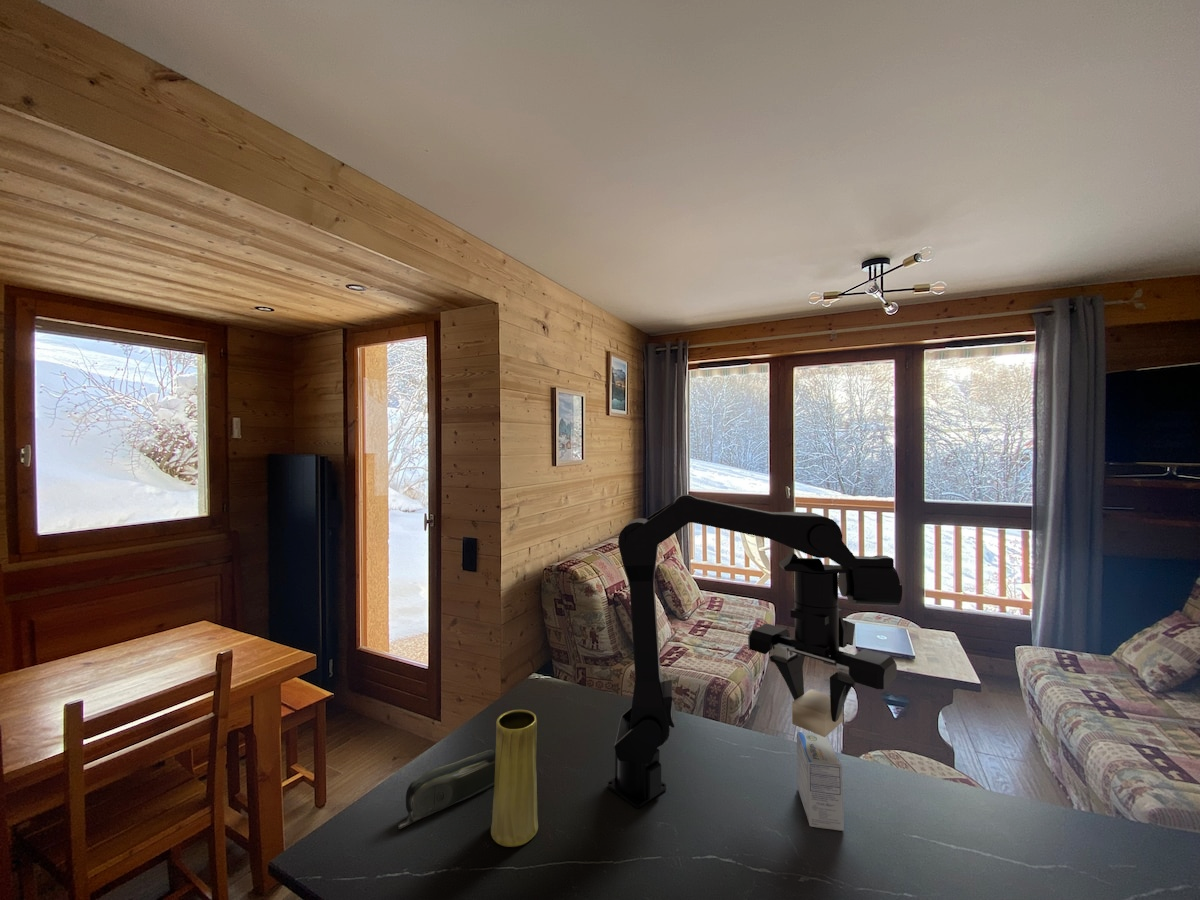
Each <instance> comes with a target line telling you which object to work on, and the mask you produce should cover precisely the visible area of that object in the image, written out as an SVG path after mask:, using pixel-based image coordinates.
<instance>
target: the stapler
mask: <svg viewBox="0 0 1200 900" xmlns="http://www.w3.org/2000/svg"><path fill="white" fill-rule="evenodd" d="M495 757H496V748H489V749H487V750H485V751H483V752H480V753H476V754H474V755H471V756H467V757H466V758H463V759H460V760H458V761H455V762H453V763H449V764H445V765H443V766H440V767H435V768H433V769H431V770H428V771H425V773H423V774H422V775H421V776H420V777H418V778H416V779H415V780H412V782H411V783H410V784H409V786H408V787H407V790H406V794H405V808H406V811H407V813H408V814H407V818H406V819H405V820H402V821H401V822H399V823H398V824H397V827H398V829H399V830H401V829H403V828H405V827H407V826H409V825H411V824H413V823H415V822H417V821H419V820H422V819H423V818H427V817H429V816H431V815H433V814H436V813H437V812H439V811H443V810H444V809H446V808H448V807H450V806H453V805H455V804H457V803H460V802H463V801H466V800H467V799H469V798H473V797H474V796H476V795H479V794H481V793H483V792H485V791H487V790H489V789H491V788H492V787H494V779H495Z"/></svg>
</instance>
